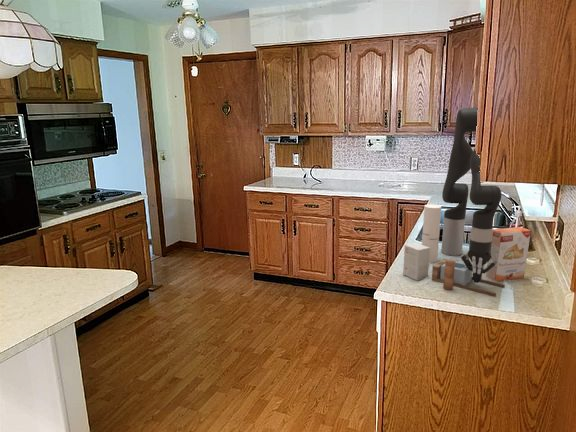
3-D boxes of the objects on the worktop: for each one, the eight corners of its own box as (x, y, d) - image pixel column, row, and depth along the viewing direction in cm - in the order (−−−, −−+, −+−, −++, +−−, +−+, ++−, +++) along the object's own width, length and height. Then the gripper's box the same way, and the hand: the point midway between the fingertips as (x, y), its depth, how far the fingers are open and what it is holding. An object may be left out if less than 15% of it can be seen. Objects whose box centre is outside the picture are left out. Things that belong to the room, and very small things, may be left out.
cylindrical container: (424, 256, 208) (428, 203, 201) (439, 259, 203) (444, 205, 197) (418, 260, 202) (421, 206, 196) (433, 263, 198) (437, 208, 192)
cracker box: (495, 284, 176) (501, 233, 170) (485, 278, 181) (490, 228, 176) (525, 280, 179) (531, 230, 174) (513, 274, 185) (520, 226, 180)
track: (442, 274, 185) (444, 258, 183) (504, 290, 170) (506, 272, 168) (431, 282, 177) (432, 266, 175) (494, 299, 162) (497, 281, 160)
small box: (428, 277, 182) (430, 247, 179) (416, 281, 179) (418, 250, 176) (413, 271, 189) (415, 242, 186) (402, 274, 186) (404, 244, 183)
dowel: (445, 288, 172) (447, 259, 169) (453, 290, 170) (456, 261, 167) (441, 291, 169) (444, 261, 166) (450, 293, 167) (453, 263, 164)
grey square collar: (448, 274, 182) (450, 259, 181) (471, 280, 177) (472, 264, 175) (439, 281, 176) (441, 265, 174) (462, 287, 170) (464, 271, 168)
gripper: (502, 239, 165) (497, 283, 169) (466, 233, 173) (462, 274, 178) (496, 244, 160) (491, 289, 164) (459, 237, 168) (455, 280, 172)
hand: (476, 281), depth 171 cm, fingers closed
